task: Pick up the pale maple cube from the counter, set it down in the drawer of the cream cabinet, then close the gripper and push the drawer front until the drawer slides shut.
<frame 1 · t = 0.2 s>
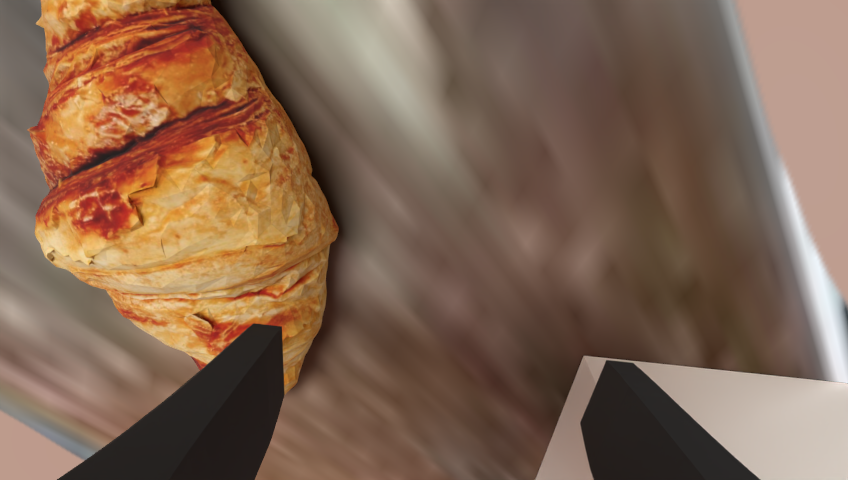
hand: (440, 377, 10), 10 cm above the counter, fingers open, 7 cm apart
croissant: (222, 193, 19), on the counter
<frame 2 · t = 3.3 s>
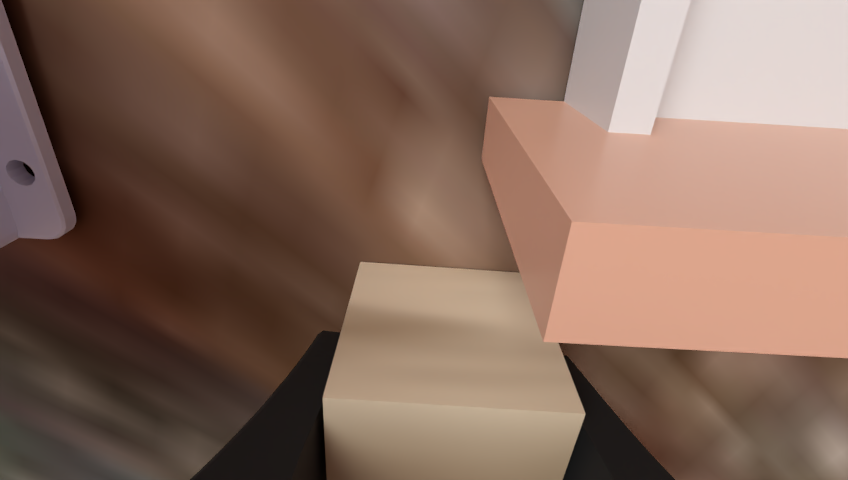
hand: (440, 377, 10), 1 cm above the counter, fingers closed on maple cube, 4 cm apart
maple cube: (438, 334, 11), on the counter, touching gripper
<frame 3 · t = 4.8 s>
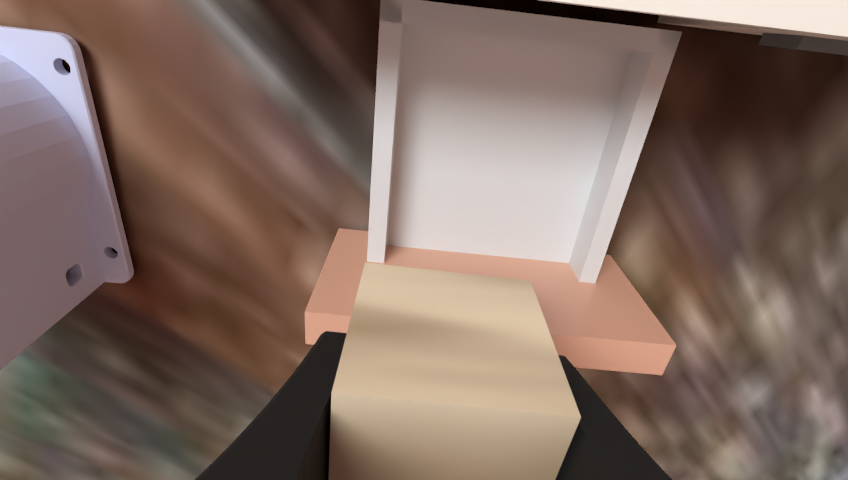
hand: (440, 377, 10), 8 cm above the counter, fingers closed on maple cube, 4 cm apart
maple cube: (437, 336, 11), point 7 cm above the counter, touching gripper
drawer: (502, 183, 14), point 3 cm above the counter, slide at 8.0 cm
when the fingers open (4 cm above the counter, at t = 6.3 s): maple cube drops 1 cm, resting on drawer.
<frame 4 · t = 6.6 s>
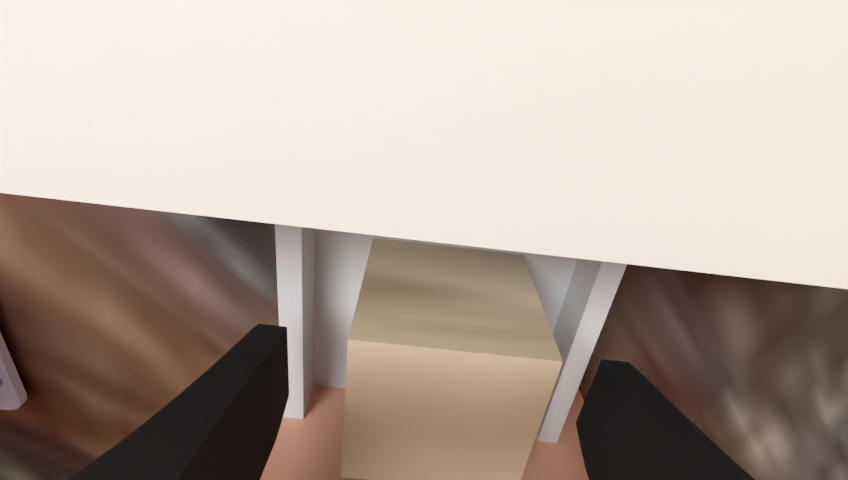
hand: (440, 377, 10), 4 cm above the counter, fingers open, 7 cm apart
maple cube: (438, 307, 13), point 1 cm above the counter, touching drawer
drawer: (437, 350, 11), point 3 cm above the counter, slide at 8.0 cm, touching maple cube
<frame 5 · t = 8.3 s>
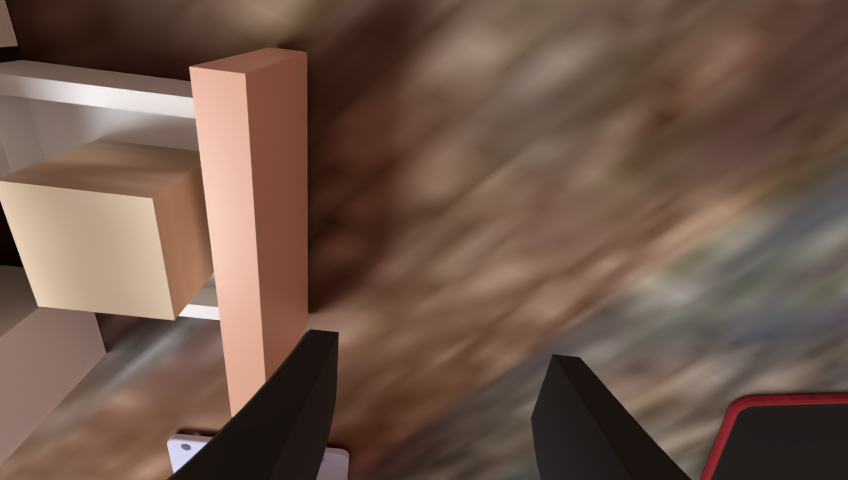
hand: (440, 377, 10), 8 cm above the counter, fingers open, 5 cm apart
maple cube: (167, 200, 16), point 1 cm above the counter, touching drawer
drawer: (142, 221, 14), point 3 cm above the counter, slide at 8.0 cm, touching maple cube
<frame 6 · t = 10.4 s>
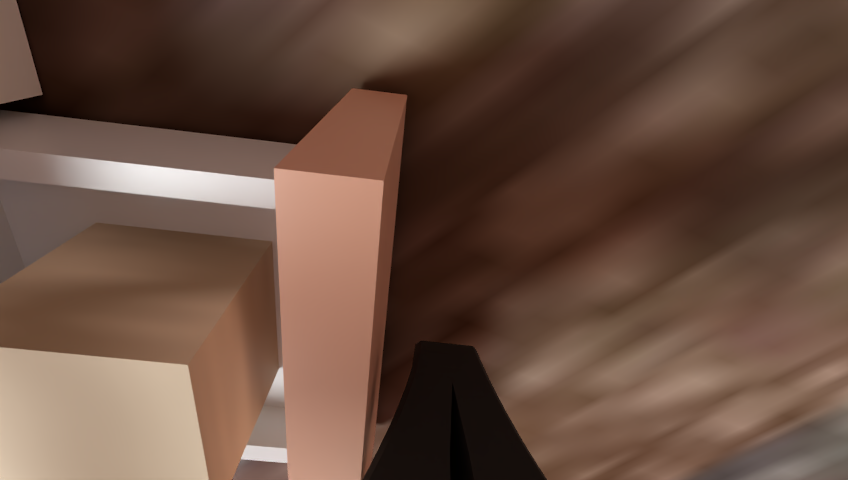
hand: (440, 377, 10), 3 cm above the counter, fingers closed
maple cube: (195, 302, 11), point 1 cm above the counter, touching drawer
drawer: (162, 349, 10), point 3 cm above the counter, slide at 6.6 cm, touching gripper, maple cube
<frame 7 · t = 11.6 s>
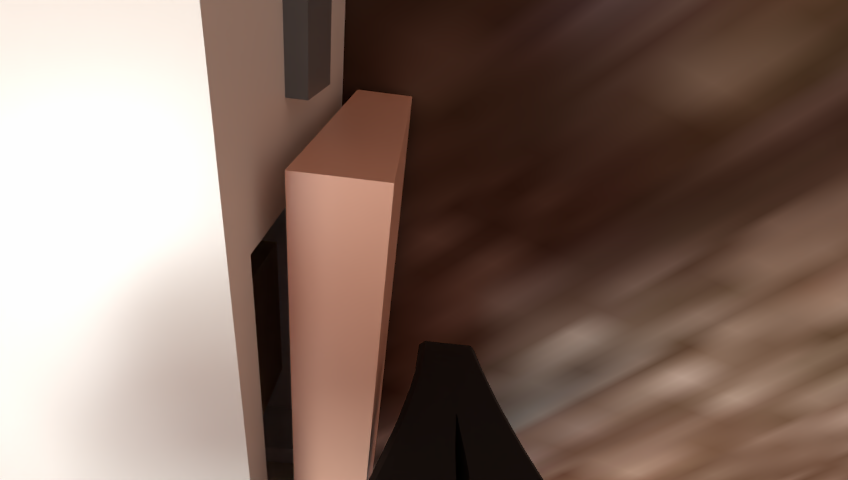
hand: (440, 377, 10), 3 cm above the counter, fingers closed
cabinet: (202, 275, 12), on the counter
maple cube: (199, 302, 11), point 1 cm above the counter, touching drawer
drawer: (167, 350, 10), point 3 cm above the counter, slide at 0.0 cm, touching gripper, maple cube
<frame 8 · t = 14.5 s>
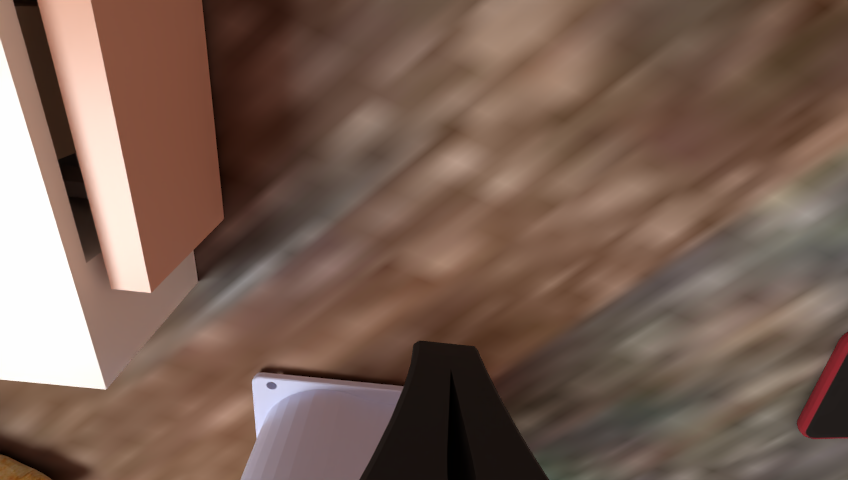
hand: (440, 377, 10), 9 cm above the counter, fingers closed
cabinet: (62, 61, 16), on the counter
maple cube: (51, 65, 15), point 1 cm above the counter, touching drawer
drawer: (10, 73, 13), point 3 cm above the counter, slide at 0.0 cm, touching maple cube
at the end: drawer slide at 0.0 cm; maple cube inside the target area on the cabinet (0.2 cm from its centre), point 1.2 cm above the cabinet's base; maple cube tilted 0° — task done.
